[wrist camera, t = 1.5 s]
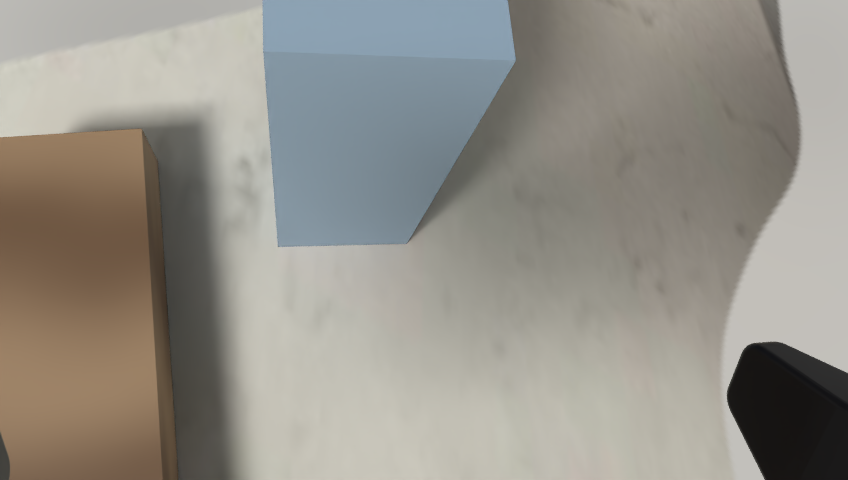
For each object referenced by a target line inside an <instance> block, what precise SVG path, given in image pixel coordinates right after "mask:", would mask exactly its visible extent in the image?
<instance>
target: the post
mask: <svg viewBox="0 0 848 480" xmlns="http://www.w3.org/2000/svg"><path fill="white" fill-rule="evenodd" d="M263 53H264V66H265V80H266V93H267V106H268V119H269V133H270V146H271V159H272V173H273V186H274V199H275V212H276V226H277V239H278V247H290V246H330V245H370V244H407V242H408V241H409V239H410V237H411V236H412V234H413V232H414V231H415V229H416V227H417V226H418V224H419V222H420V221H421V219H422V217H423V216H424V214H425V212H426V211H427V209H428V207H429V206H430V204H431V202H432V201H433V199H434V197H435V195H436V194H437V192H438V190H439V189H440V187H441V185H442V184H443V182H444V180H445V179H446V177H447V175H448V174H449V172H450V170H451V169H452V167H453V165H454V164H455V162H456V160H457V159H458V157H459V155H460V154H461V152H462V150H463V148H464V147H465V145H466V143H467V142H468V140H469V138H470V137H471V135H472V133H473V132H474V130H475V128H476V127H477V125H478V123H479V122H480V120H481V118H482V117H483V115H484V113H485V112H486V110H487V108H488V107H489V105H490V103H491V101H492V100H493V98H494V96H495V95H496V93H497V91H498V90H499V88H500V86H501V85H502V83H503V81H504V80H505V78H506V76H507V75H508V73H509V71H510V70H511V68H512V66H513V65H514V63H515V61H516V58H515V51H514V43H513V36H512V28H511V21H510V14H509V6H508V0H263Z"/></svg>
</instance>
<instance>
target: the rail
mask: <svg viewBox="0 0 848 480" xmlns="http://www.w3.org/2000/svg"><path fill="white" fill-rule="evenodd" d="M0 432H1V435H2V438H3V441H4V444H5V447H6V450H7V453H8V456H9V460H10V477H9V480H179V479H178V464H177V449H176V434H175V418H174V403H173V388H172V373H171V357H170V342H169V327H168V312H167V296H166V281H165V266H164V251H163V235H162V220H161V205H160V190H159V174H158V161H157V159H156V157H155V155H154V153H153V151H152V149H151V147H150V145H149V142H148V140H147V138H146V136H145V134H144V132H143V130H142V129H128V130H112V131H96V132H80V133H64V134H48V135H32V136H16V137H0Z"/></svg>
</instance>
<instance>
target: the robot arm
mask: <svg viewBox="0 0 848 480" xmlns="http://www.w3.org/2000/svg"><path fill="white" fill-rule="evenodd" d="M727 402H728V405H729V408H730V411H731V413H732V415H733V417H734V418H735V421H736V423H737V425H738V427H739V429H740V431H741V433H742V435H743V437H744V439H745V441H746V443H747V445H748V447H749V449H750V451H751V453H752V455H753V457H754V459H755V461H756V463H757V465H758V467H759V469H760V471H761V473H762V475H763V477H764V479H765V480H848V373H846V372H844V371H842V370H840V369H837V368H835V367H833V366H831V365H829V364H827V363H825V362H822V361H820V360H818V359H816V358H814V357H811V356H809V355H807V354H805V353H803V352H801V351H799V350H797V349H794V348H792V347H790V346H788V345H786V344H783V343H779V342H763V343H753V344H750V345H748V346H747V347H746V348H745V349H744V350H743V352H742V354H741V357H740V359H739V362H738V364H737V367H736V369H735V372H734V374H733V377H732V379H731V382H730V384H729V387H728V390H727ZM9 477H10V460H9V456H8V453H7V450H6V447H5V444H4V441H3V438H2V435H1V432H0V480H9Z"/></svg>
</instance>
